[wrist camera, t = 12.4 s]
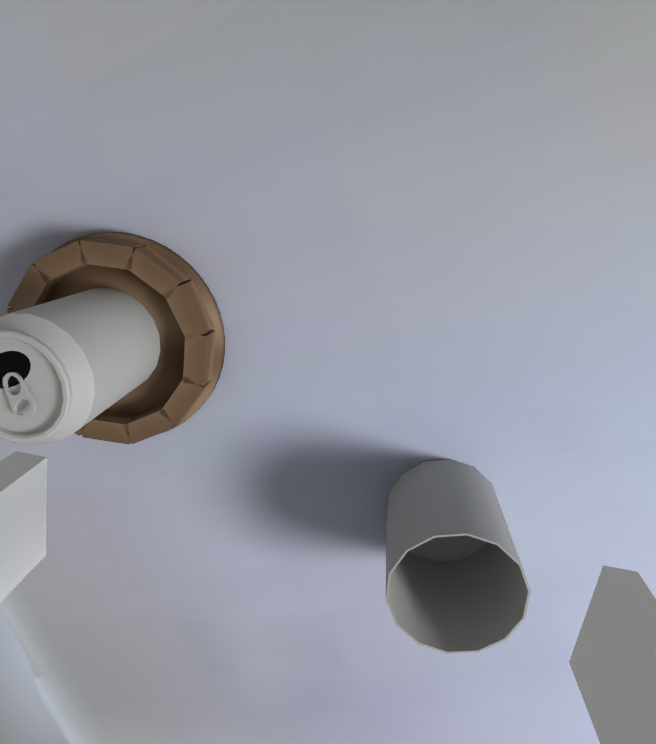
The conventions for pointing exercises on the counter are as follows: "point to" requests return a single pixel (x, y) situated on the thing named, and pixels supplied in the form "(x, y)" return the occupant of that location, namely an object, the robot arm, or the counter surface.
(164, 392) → the tray
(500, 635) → the cup
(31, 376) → the can
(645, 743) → the robot arm
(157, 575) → the counter surface
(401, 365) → the counter surface
